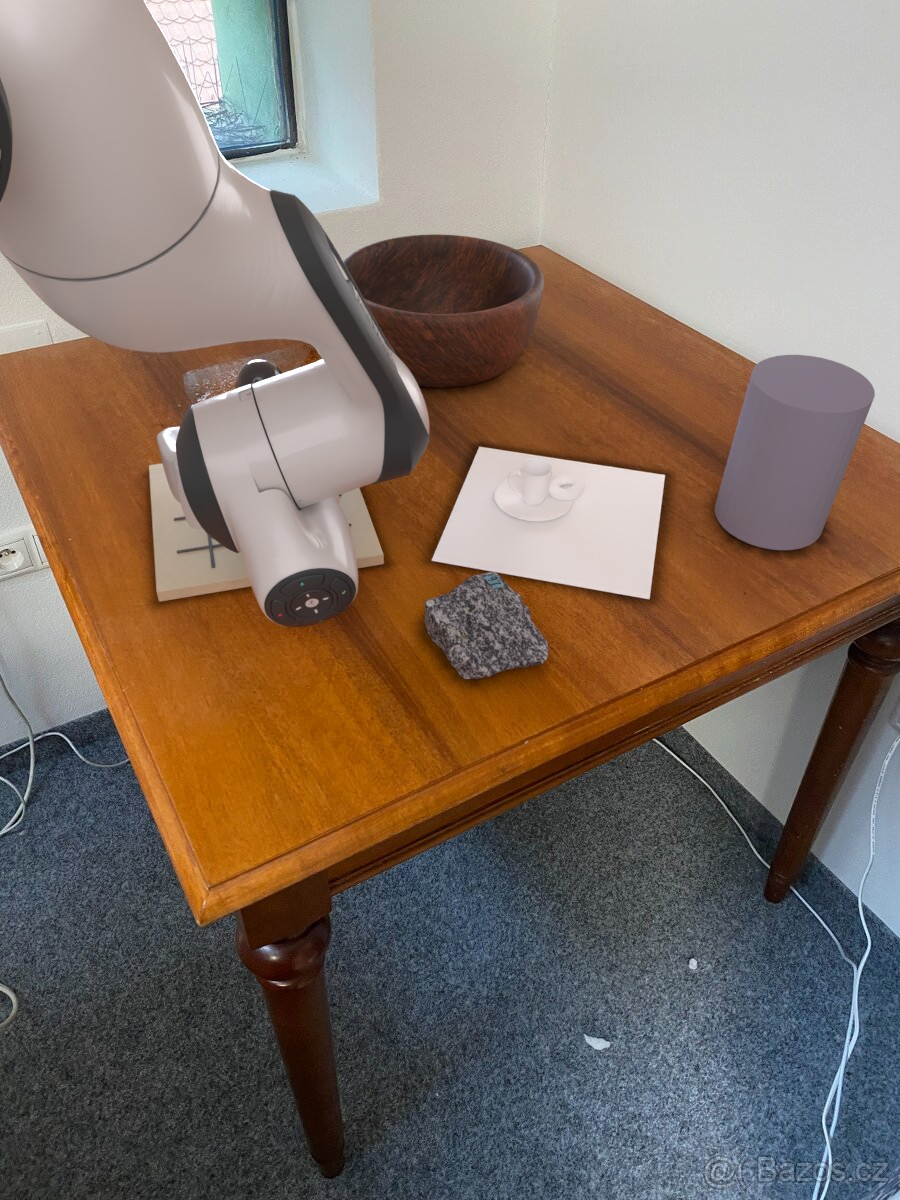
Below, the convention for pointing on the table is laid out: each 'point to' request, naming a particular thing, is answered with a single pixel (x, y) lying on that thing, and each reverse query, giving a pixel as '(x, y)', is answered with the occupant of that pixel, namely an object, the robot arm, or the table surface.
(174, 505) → the board
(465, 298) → the wooden bowl
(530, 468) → the teacup and saucer
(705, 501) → the table surface
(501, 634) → the rock
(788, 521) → the container
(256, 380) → the dome-topped canister
